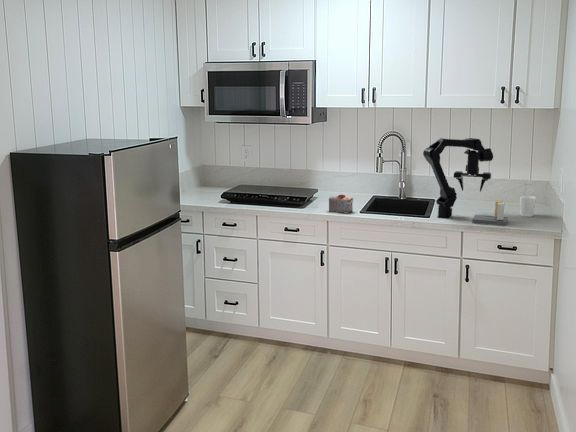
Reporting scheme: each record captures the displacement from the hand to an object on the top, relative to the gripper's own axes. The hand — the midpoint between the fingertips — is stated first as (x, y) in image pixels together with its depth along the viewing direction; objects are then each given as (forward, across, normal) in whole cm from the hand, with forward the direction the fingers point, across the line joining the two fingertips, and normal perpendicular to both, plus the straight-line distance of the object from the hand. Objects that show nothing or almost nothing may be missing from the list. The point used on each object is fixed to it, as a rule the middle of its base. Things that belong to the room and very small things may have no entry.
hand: (471, 191), depth 315 cm
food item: (+13, +68, +16) cm, 71 cm away
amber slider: (+11, -15, +10) cm, 21 cm away
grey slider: (+11, -16, +16) cm, 25 cm away
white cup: (+13, -28, -8) cm, 32 cm away
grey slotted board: (+13, -11, +14) cm, 22 cm away
